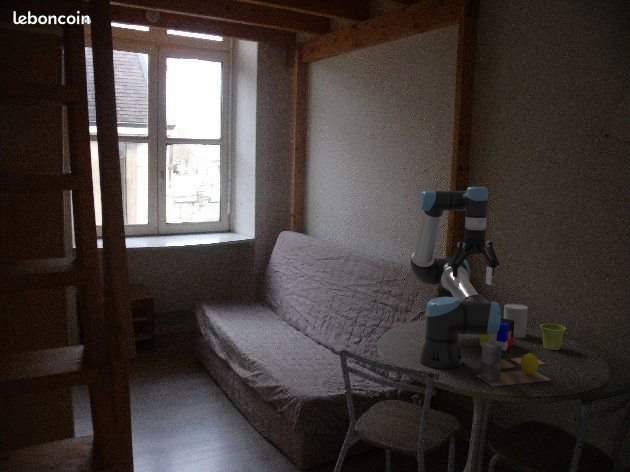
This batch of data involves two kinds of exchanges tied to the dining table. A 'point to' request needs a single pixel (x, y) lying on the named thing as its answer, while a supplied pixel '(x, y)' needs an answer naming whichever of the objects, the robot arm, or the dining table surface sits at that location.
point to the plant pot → (552, 336)
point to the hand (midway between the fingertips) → (472, 285)
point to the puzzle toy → (501, 335)
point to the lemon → (529, 364)
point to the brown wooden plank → (518, 360)
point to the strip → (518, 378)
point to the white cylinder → (517, 318)
